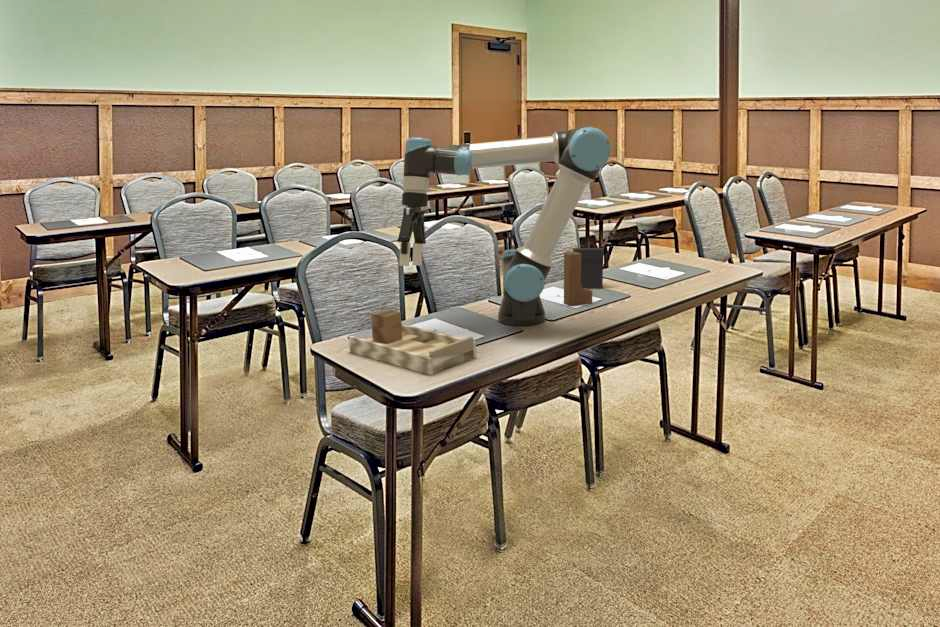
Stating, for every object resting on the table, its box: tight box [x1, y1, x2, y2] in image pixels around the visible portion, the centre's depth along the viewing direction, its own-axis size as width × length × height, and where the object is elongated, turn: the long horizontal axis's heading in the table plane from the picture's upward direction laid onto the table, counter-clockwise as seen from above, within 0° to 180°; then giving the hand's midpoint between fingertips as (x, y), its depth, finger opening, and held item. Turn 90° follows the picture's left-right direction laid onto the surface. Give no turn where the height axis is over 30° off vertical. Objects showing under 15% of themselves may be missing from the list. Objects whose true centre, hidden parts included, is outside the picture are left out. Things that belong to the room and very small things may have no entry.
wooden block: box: [563, 251, 593, 307], centre depth 263 cm, size 9×4×18 cm, turn 109°
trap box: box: [348, 323, 478, 376], centre depth 214 cm, size 32×18×6 cm, turn 49°
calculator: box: [572, 247, 604, 290], centre depth 285 cm, size 11×4×15 cm, turn 86°
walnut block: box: [370, 308, 402, 344], centre depth 219 cm, size 6×6×8 cm
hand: (410, 265), depth 223 cm, fingers open, 13 cm apart
